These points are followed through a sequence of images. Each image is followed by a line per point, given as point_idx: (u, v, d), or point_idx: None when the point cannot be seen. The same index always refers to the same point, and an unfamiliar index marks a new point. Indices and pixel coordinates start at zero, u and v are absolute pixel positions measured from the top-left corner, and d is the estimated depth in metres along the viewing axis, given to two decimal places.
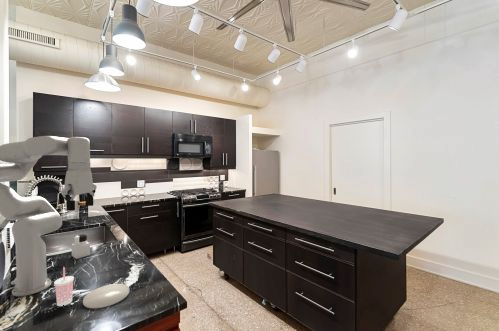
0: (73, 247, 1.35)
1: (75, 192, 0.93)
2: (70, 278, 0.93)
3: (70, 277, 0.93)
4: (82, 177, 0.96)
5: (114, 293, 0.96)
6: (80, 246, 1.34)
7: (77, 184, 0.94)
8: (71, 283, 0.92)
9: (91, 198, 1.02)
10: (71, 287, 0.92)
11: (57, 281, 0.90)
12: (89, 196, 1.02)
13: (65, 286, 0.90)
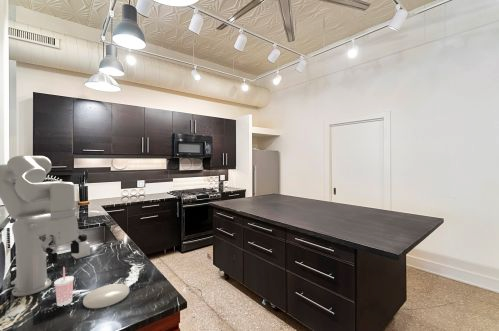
0: None
1: (57, 243, 0.86)
2: (70, 278, 0.93)
3: (70, 277, 0.93)
4: (66, 226, 0.89)
5: (114, 293, 0.96)
6: (80, 246, 1.34)
7: (60, 235, 0.87)
8: (71, 283, 0.92)
9: (76, 245, 0.95)
10: (71, 287, 0.92)
11: (57, 281, 0.90)
12: (74, 243, 0.96)
13: (65, 286, 0.90)
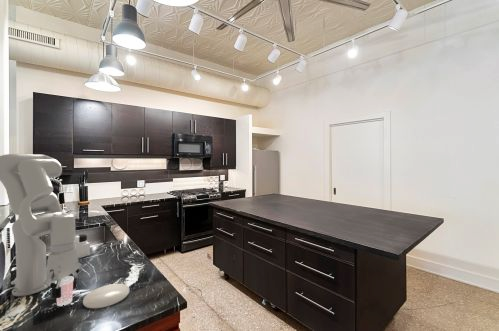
0: None
1: (57, 278, 0.87)
2: (70, 278, 0.93)
3: (70, 277, 0.93)
4: (66, 259, 0.90)
5: (114, 293, 0.96)
6: (80, 246, 1.34)
7: (60, 269, 0.87)
8: (71, 283, 0.92)
9: (74, 280, 0.94)
10: (71, 287, 0.92)
11: None
12: None
13: (65, 286, 0.90)
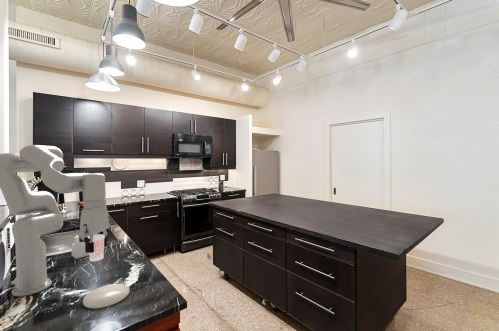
0: (73, 247, 1.35)
1: (91, 232, 0.89)
2: (101, 235, 0.95)
3: (101, 235, 0.96)
4: (98, 215, 0.92)
5: (114, 293, 0.96)
6: (80, 246, 1.34)
7: (93, 224, 0.90)
8: (103, 240, 0.94)
9: (104, 238, 0.97)
10: (103, 244, 0.94)
11: (89, 237, 0.93)
12: None
13: (98, 242, 0.92)
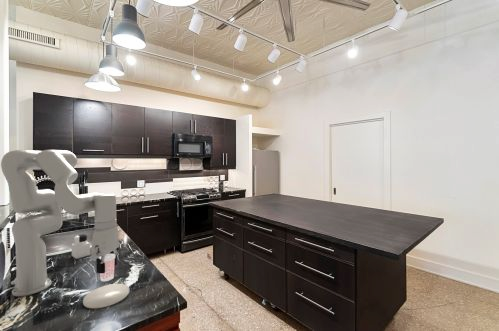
0: (73, 247, 1.35)
1: (102, 253, 0.90)
2: (112, 255, 0.96)
3: (111, 254, 0.97)
4: (109, 236, 0.93)
5: (114, 293, 0.96)
6: (80, 246, 1.34)
7: (104, 245, 0.91)
8: (113, 260, 0.95)
9: None
10: (113, 263, 0.95)
11: (100, 257, 0.94)
12: None
13: (109, 262, 0.93)
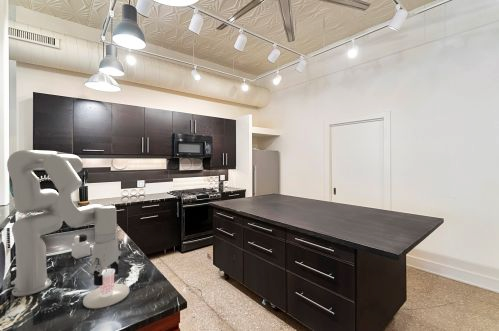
0: (73, 247, 1.35)
1: (102, 266, 0.90)
2: (111, 270, 0.96)
3: (111, 269, 0.97)
4: (109, 248, 0.93)
5: (114, 293, 0.96)
6: (80, 246, 1.34)
7: (105, 258, 0.91)
8: (113, 275, 0.95)
9: (116, 266, 0.99)
10: (113, 279, 0.95)
11: None
12: (114, 264, 0.99)
13: (108, 278, 0.93)
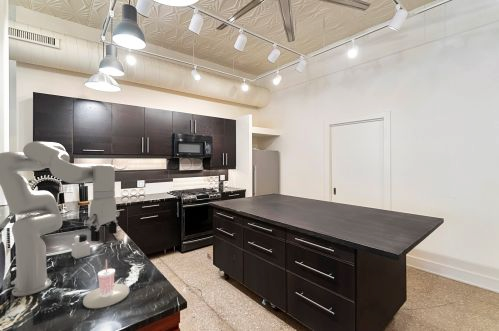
0: (73, 247, 1.35)
1: (100, 222, 0.91)
2: (112, 270, 0.96)
3: (111, 269, 0.97)
4: (107, 206, 0.94)
5: (114, 293, 0.96)
6: (80, 246, 1.34)
7: (102, 214, 0.91)
8: (113, 275, 0.95)
9: (114, 226, 1.00)
10: (113, 279, 0.95)
11: (100, 273, 0.94)
12: (112, 223, 1.00)
13: (108, 278, 0.93)
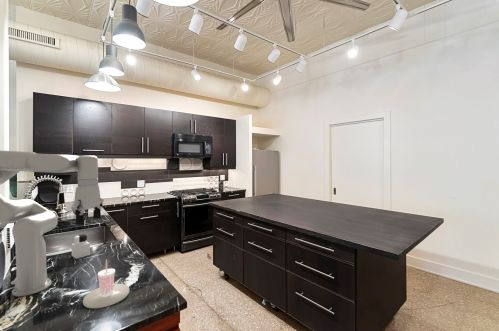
0: (73, 247, 1.35)
1: (84, 207, 1.00)
2: (112, 270, 0.96)
3: (111, 269, 0.97)
4: (91, 193, 1.03)
5: (114, 293, 0.96)
6: (80, 246, 1.34)
7: (86, 200, 1.01)
8: (113, 275, 0.95)
9: (98, 211, 1.09)
10: (113, 279, 0.95)
11: (100, 273, 0.94)
12: (97, 209, 1.10)
13: (108, 278, 0.93)
